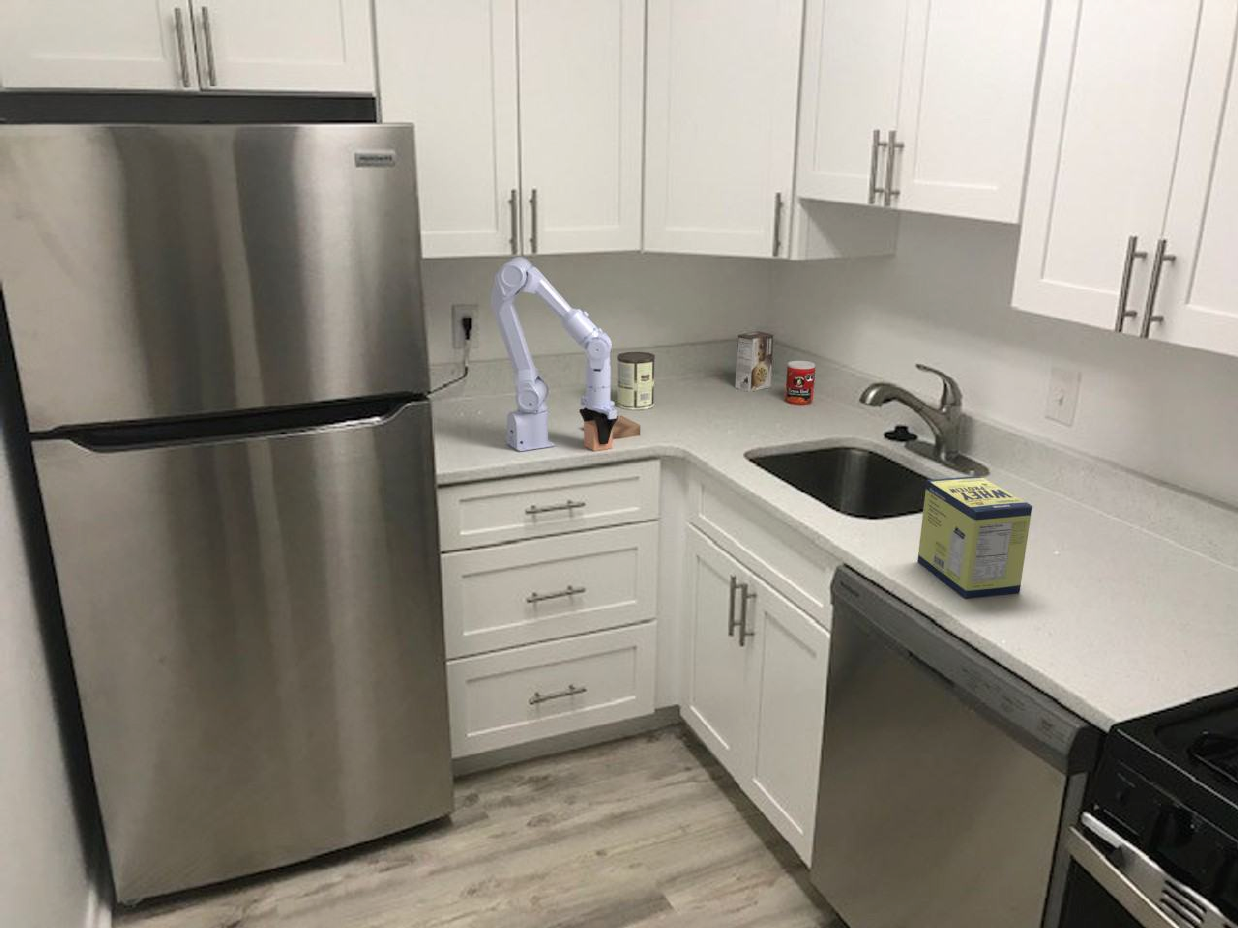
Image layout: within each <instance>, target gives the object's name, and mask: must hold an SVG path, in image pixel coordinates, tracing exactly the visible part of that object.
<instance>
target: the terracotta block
mask: <svg viewBox="0 0 1238 928" xmlns="http://www.w3.org/2000/svg"><path fill="white" fill-rule="evenodd" d="M583 426H584V427H583V435H584V437H583V440H584V442H583V446H584V447H586V448H588V449H590V450H591V451H593V452H597V451H603V450H611V449H613V439H612V431H613V428H612V431H611V434H610V438H609V442H608V444H603V445H600V444H599V441H598V432H597V427H596V423H595V421H594V420H591V421H584V420H583Z"/></svg>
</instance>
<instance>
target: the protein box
mask: <svg viewBox="0 0 1238 928" xmlns="http://www.w3.org/2000/svg"><path fill="white" fill-rule="evenodd" d="M925 485H926V486H925V494H924V500H923V508H922V509H923V510H922V518H921V524H920V525H921V528H920V536H919V543H918V551H917V561H918V562H917V561H916V562H917V563H919V565H920V566H922V567H924V568H925V569H926V568H927V569H926V570H927V571H929V572H930V573H931V572H932V574H933V575H934V576H935V577H936V576H937V577H936V578H938V579H939V580H941V581H942V582H943V583H944V584H946V586H948V587H949V588H950V589H952V590H953V591H954V590H955V591H954V592H956V594H960V595H959V596H961V597H962V598H963V599H972V598H973V599H974V598H980V597H981V598H982V597H992V596H998V595H999V596H1000V595H1008V594H1018V593H1020V592H1021V586H1022V578H1023V572H1024V566H1025V559H1026V552H1027V546H1028V544H1027V543H1028V538H1029V534H1030V533H1029V532H1030V525H1031V519H1032V511H1033V505H1032V504H1030V503H1028V502H1027V501H1025V500H1023V499H1021V498H1020V497H1018V496H1015V494H1012V493H1010V492H1009V491H1006V490H1005V489H1003V488H1001V487H1000V486H997V485H996V484H995V483H992V482H991V481H988V480H987V479H986V478H984V477H982V476H980V475H974V476H973V475H972V476H971V475H970V476H960V477H948V478H937V479H936V478H935V479H934V478H933V479H926V484H925Z"/></svg>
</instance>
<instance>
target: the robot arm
mask: <svg viewBox="0 0 1238 928" xmlns="http://www.w3.org/2000/svg"><path fill="white" fill-rule="evenodd" d="M523 287H524V289H523ZM522 289H523V291H522V292H523V293H529V294H533V295H537V296H538V297H539V298H540V299H541V300H542V301H543V302H544V303H545V304H546V305H547V306H548V307H550V309H551V310H553V312H555V313H556V315H558V317H560V319H561V326H562V328H563V329H564V330H565V332H566V333H567V334H568V335H570V337H571V338H572V339H574V341H575V342H576V343H577V344H578V345H579V346H580V347H582V348H584V349H583V351H584V355H585V357H586V366H585V367H586V369H585V370H586V373H585V374H586V382H585V383H586V384H585V386H586V387H585V388H586V390H585V391H586V392H585V395H586V396H581V397H580V405H581V406H584V408H580V409H579V411H578V412H579V414H580V415H581V418H582V419H583V422H584V421H591V420H594V421H595V423H596V427H597V432H598V441H599V444H600V445H603V444H608V442H609V438H610V434H611V431H612V428H613V426H614V424H615V422H616V421H617V419H618V416H619V415H618V414H617V413H618V410H617V409H615V408H614V406H615V403H616V402H615V401H612V400H611V385H612V384H611V383H612V381H611V379H612V378H611V377H612V376H611V375H612V374H611V373H612V371H611V370H612V368H611V367H612V366H611V355H610V354H611V350H612V347H613V345H612V344H613V342H612V340H611V338H610V337H609V334H607V333H606V332H603V329H602V328H601V327H597V326H596V325H595V324H594V323H593V322H592V320H590V318H588V317H589V313H588V312H586V310H585V311H582V309H580V308H572V307H571V306H570V305H569V303H568V302H567V301H566V300H565V299H564V297H562V295H561V294H560V293H559V292H558V290H556V288H555V287H553V285H552V284H551V283H550V281H548V279H547V278H546V277H545V276H544V275H543V274H542V272H541V271H540V270H539V269H538V268H537V267H535V266H533V265H532V263H531V262H530V261H529V260H528V259H526V258H525V257H522V256H521V257H514V258H512V259H510V260H509V261H507V262H505V263H503V265H502V266H501V267H500V268H499V270H498V271H497V272H496V274H495V275H494V283H493V287H492V293H491V296H490V305H491V308H492V310H493V314H494V316H495V320H496V322H497V326H498V329H499V331H500V332H499V333H500V335H501V337H502V341H503V344H504V346H505V347H504V348H505V350H506V353H507V356H508V358H509V361H510V364H511V367H512V370H513V373H514V387H515V390H516V392H515V393H516V394H515V402H516V405H517V407H516V408H517V409H516V410H515V409H514V410H513V411H510V412H508V414H507V416H506V436H507V437H506V439H507V440H506V441H505V443H506V444H507V445H509V446H510V447H512V448H513V449H515V450H516V451H518V452H523V451H524V452H525V451H531V450H538V449H544V448H550V447H555V445H556V444H555V443H554V442H552V441H550V440H549V422H548V421H549V416H548V415H549V414H548V413H549V411H548V409H549V407H548V405H547V404H546V401H545V400H546V398H547V397H548V395H549V386H548V384H547V382H546V381H545V380H544V379H543V377H542V376H541V374H540V371H539V370H538V369H537V367H536V366H535V364H534V361H533V357H532V355H531V354H532V353H531V351H530V349H529V345H528V342H527V340H526V337H525V332H524V330H523V327H522V324H521V321H520V318H519V315H518V312H517V309H516V306H515V301H516V299H517V297H518V296H519V293H520V292H521V290H522Z"/></svg>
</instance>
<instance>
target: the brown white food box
mask: <svg viewBox="0 0 1238 928" xmlns="http://www.w3.org/2000/svg"><path fill="white" fill-rule="evenodd" d="M773 346H774V334H772V333H768V332H765V331H760V330H759V331H758V330H757V331H753V332H752V331H751V332H747V333H742V334H738V335H737V348H736V352H737V353H736V367H735V368H736V369H735V370H736V371H735V372H736V373H735V389H737V388H738V390H742V391H745V392H748V393H752V392H756V391H761V390H764V389H768V388H771V384H772V369H773V368H772V366H773V365H772V364H773Z"/></svg>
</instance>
